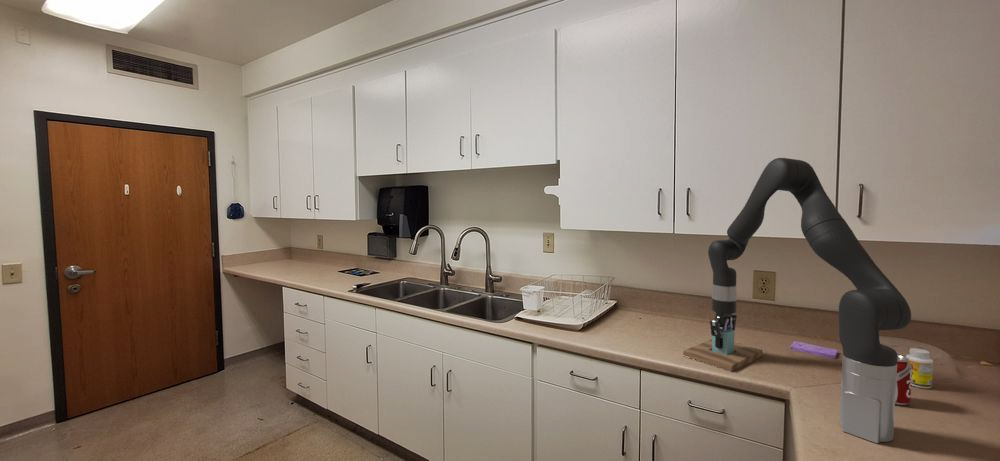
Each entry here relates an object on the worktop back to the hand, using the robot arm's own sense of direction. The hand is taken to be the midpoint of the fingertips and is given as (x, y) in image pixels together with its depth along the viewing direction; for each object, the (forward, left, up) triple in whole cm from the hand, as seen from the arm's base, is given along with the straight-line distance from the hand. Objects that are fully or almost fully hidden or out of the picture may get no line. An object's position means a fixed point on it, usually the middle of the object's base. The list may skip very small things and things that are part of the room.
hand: (723, 345), depth 138 cm
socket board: (0, 0, -4) cm, 4 cm away
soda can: (+4, -42, -4) cm, 42 cm away
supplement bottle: (+22, -44, -4) cm, 49 cm away
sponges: (+30, -17, -4) cm, 35 cm away
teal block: (0, 0, -2) cm, 2 cm away
